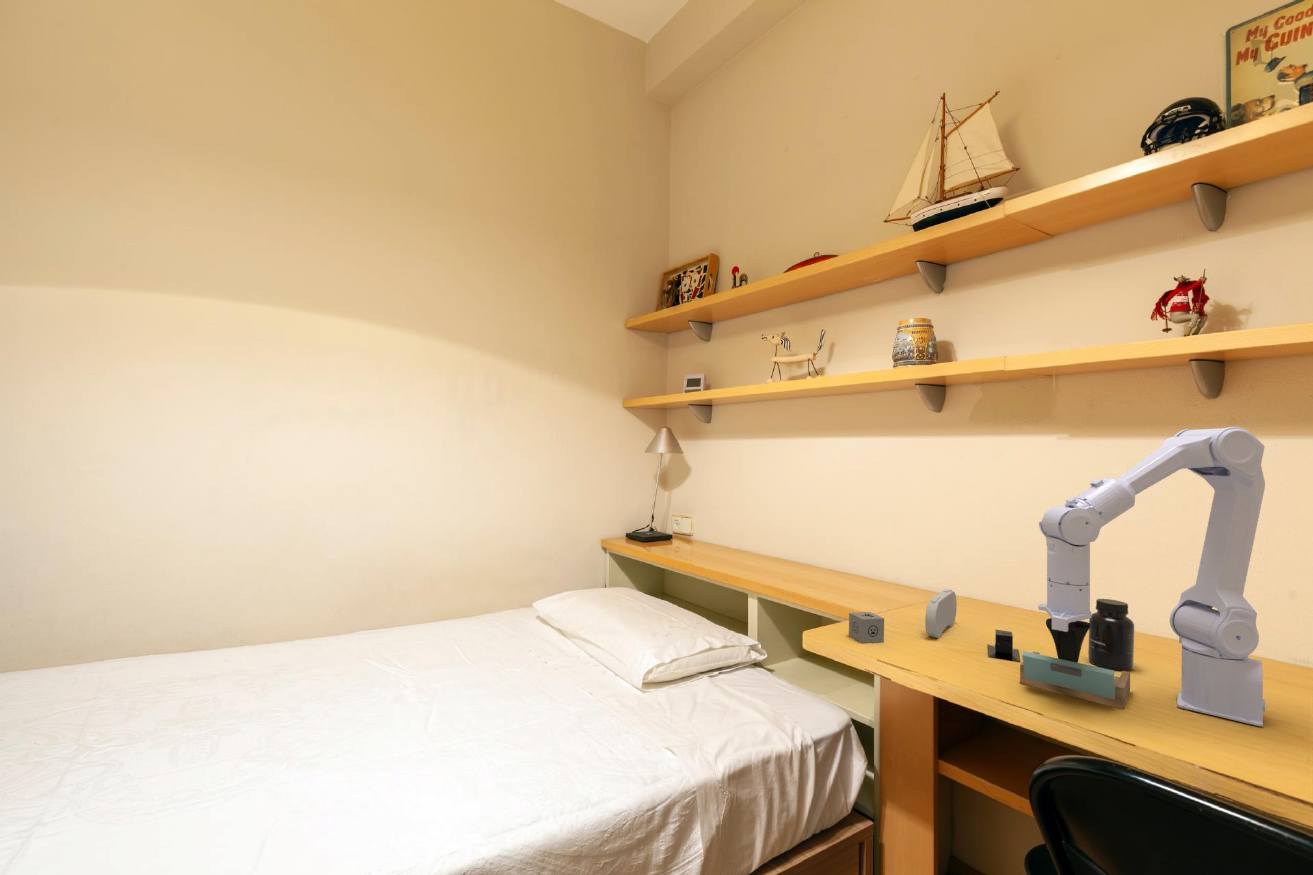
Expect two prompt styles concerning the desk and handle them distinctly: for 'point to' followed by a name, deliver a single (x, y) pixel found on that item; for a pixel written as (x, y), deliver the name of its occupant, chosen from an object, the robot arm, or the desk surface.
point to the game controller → (940, 613)
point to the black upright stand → (1003, 647)
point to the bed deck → (1120, 692)
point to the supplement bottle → (1111, 636)
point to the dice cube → (866, 627)
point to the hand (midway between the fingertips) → (1067, 666)
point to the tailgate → (1069, 674)
